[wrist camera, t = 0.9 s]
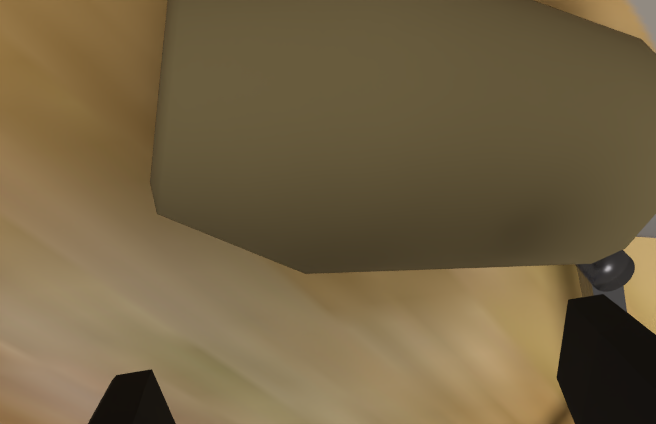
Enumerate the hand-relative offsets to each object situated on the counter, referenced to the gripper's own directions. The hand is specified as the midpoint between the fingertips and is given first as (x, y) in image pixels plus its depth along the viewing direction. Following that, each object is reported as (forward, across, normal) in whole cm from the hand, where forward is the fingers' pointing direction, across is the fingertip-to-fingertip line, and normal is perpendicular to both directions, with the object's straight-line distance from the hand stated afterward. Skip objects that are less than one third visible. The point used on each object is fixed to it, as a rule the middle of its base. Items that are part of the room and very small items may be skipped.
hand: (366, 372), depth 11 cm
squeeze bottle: (+6, +4, -3) cm, 8 cm away
